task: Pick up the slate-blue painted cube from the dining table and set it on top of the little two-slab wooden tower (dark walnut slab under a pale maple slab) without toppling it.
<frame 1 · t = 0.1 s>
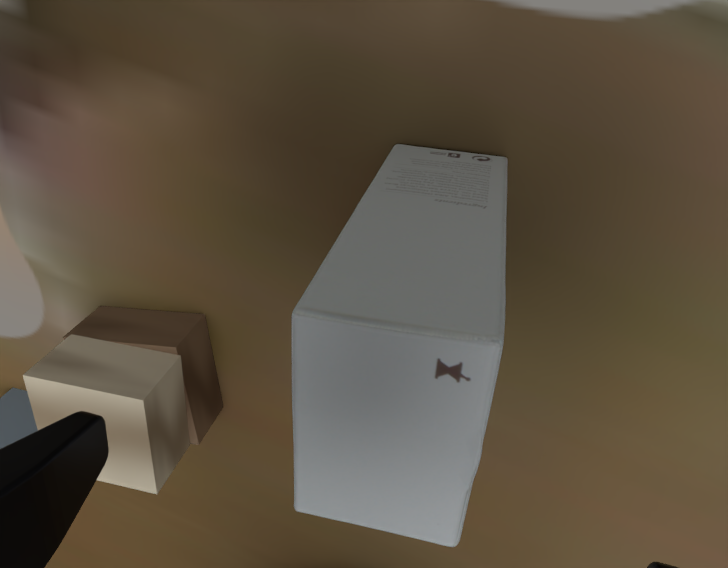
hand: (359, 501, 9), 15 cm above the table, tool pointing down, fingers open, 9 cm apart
blue cube: (55, 426, 33), on the table
tower mid: (132, 391, 27), point 3 cm above the table, touching tower base
tower base: (165, 354, 29), on the table, touching tower mid
skincare box: (439, 222, 23), on the table
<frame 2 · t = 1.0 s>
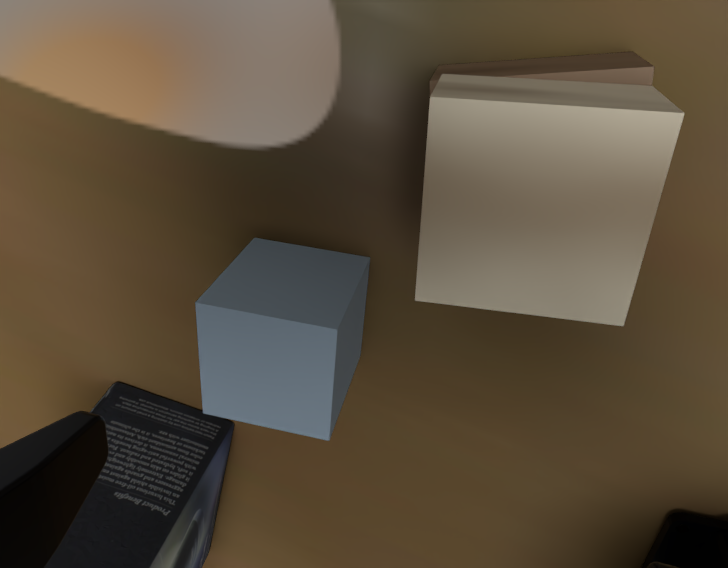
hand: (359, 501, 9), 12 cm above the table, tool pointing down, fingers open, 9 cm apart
blue cube: (309, 297, 23), on the table
tower mid: (527, 177, 16), point 3 cm above the table, touching tower base
tower base: (528, 148, 19), on the table, touching tower mid
small box: (171, 470, 30), on the table
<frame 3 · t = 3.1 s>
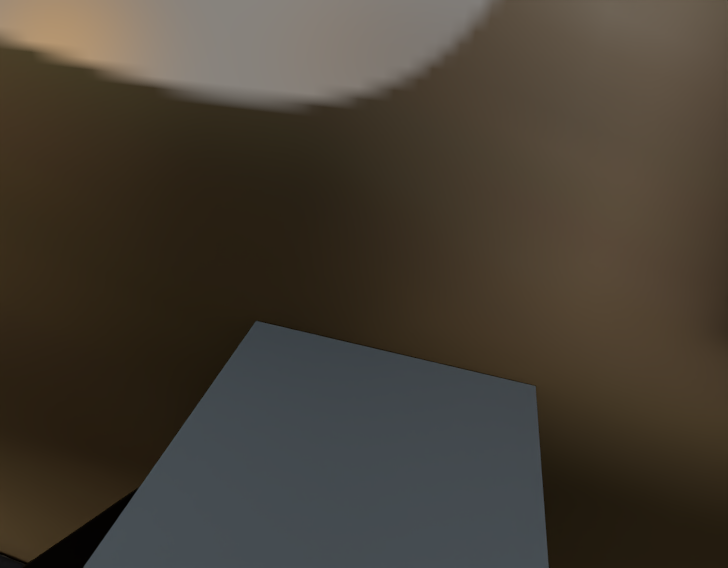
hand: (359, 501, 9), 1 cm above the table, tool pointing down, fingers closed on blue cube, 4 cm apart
blue cube: (372, 454, 10), on the table, touching gripper
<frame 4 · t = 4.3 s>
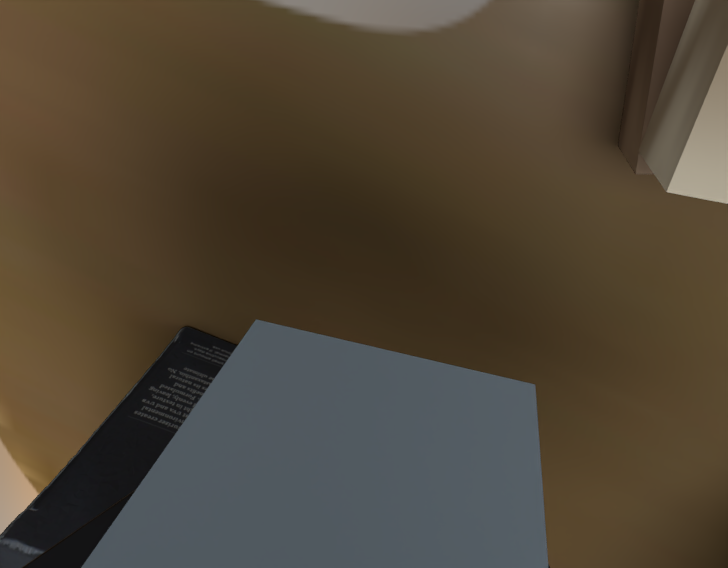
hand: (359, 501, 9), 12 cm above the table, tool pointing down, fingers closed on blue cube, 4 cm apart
blue cube: (372, 452, 10), point 10 cm above the table, touching gripper
small box: (234, 434, 26), on the table
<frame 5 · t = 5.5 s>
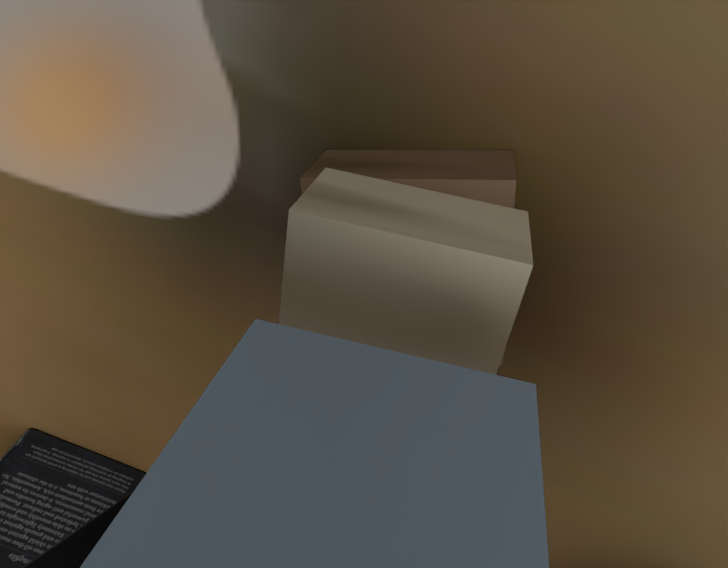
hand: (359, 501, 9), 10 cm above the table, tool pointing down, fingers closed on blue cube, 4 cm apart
blue cube: (372, 452, 10), point 9 cm above the table, touching gripper
tower mid: (405, 277, 16), point 3 cm above the table
tower base: (419, 232, 19), on the table
small box: (89, 514, 30), on the table
when the fingers open (8 cm above the table, at t = 6.3 s): blue cube drops 1 cm, resting on tower mid.
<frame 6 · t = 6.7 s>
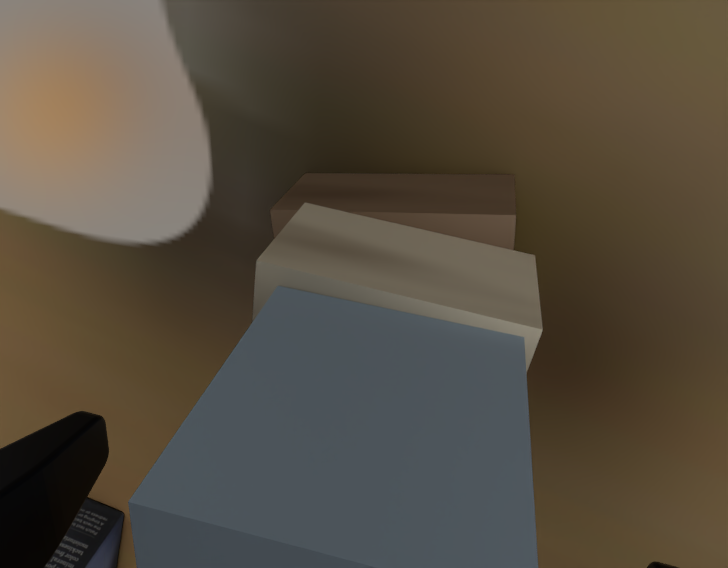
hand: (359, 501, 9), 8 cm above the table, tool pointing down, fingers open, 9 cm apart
blue cube: (381, 405, 12), point 6 cm above the table, touching tower mid
tower mid: (396, 324, 14), point 3 cm above the table, touching blue cube, tower base
tower base: (409, 264, 17), on the table, touching tower mid
small box: (63, 551, 28), on the table
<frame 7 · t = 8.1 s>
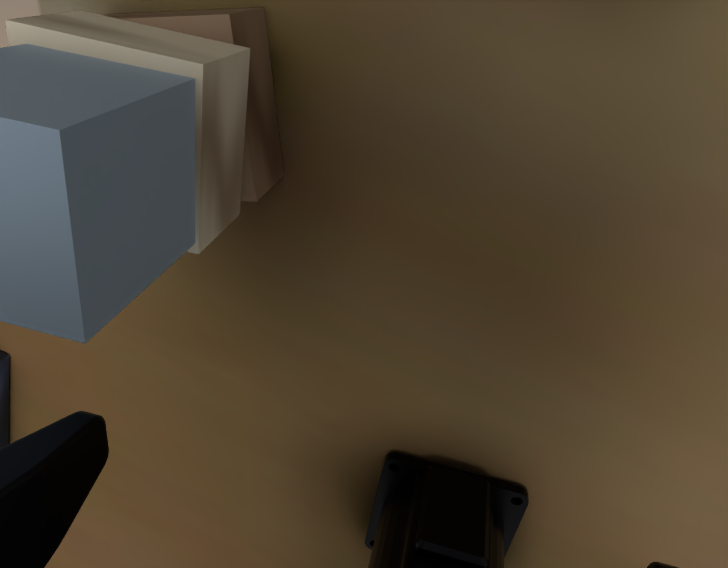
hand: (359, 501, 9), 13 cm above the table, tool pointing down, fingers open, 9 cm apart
blue cube: (115, 149, 15), point 6 cm above the table, touching tower mid
tower mid: (165, 118, 18), point 3 cm above the table, touching blue cube
tower base: (203, 96, 21), on the table
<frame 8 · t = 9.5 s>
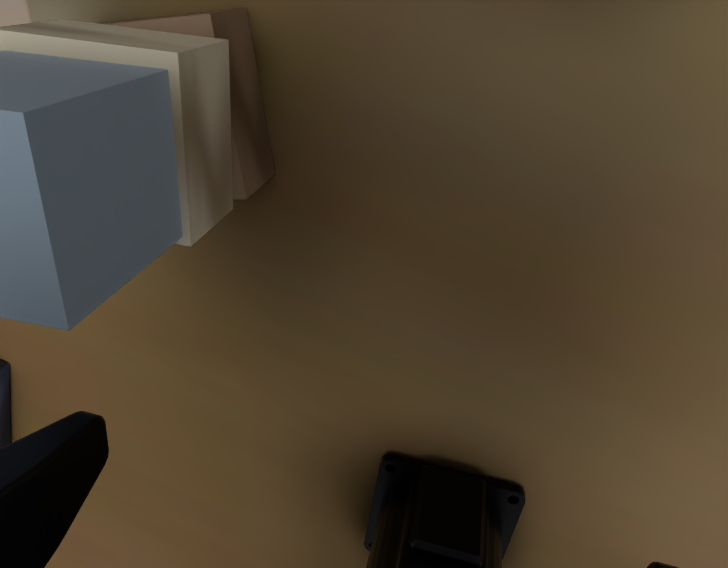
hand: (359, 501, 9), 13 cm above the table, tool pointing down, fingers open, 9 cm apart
blue cube: (98, 147, 16), point 6 cm above the table, touching tower mid
tower mid: (152, 118, 18), point 3 cm above the table, touching blue cube, tower base
tower base: (192, 99, 21), on the table, touching tower mid
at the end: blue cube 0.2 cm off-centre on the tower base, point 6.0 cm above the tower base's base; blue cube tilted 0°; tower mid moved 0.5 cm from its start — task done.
